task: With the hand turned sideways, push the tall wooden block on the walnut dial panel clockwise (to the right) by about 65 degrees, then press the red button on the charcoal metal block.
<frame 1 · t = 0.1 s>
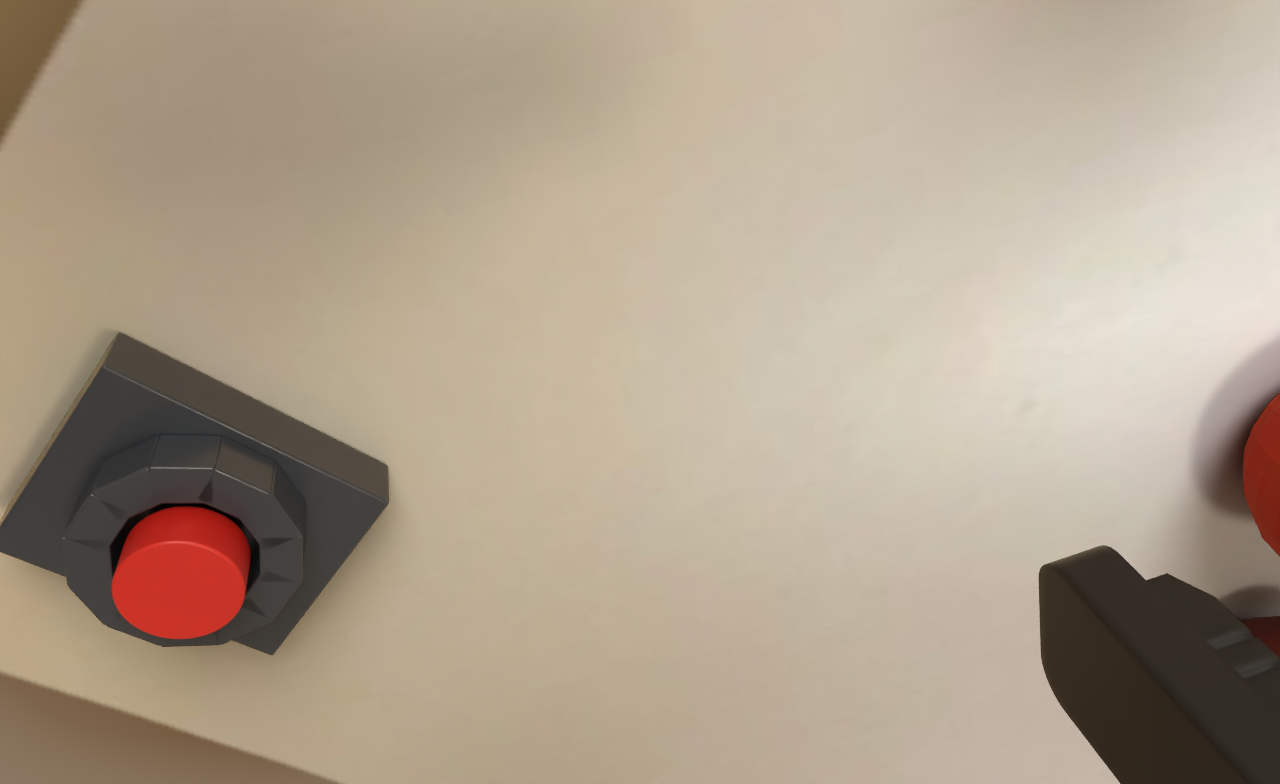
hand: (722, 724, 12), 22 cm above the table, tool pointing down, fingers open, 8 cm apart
potato: (1230, 655, 50), on the table
button block: (205, 484, 33), on the table
button: (183, 572, 29), point 5 cm above the table, slide at 0.1 cm
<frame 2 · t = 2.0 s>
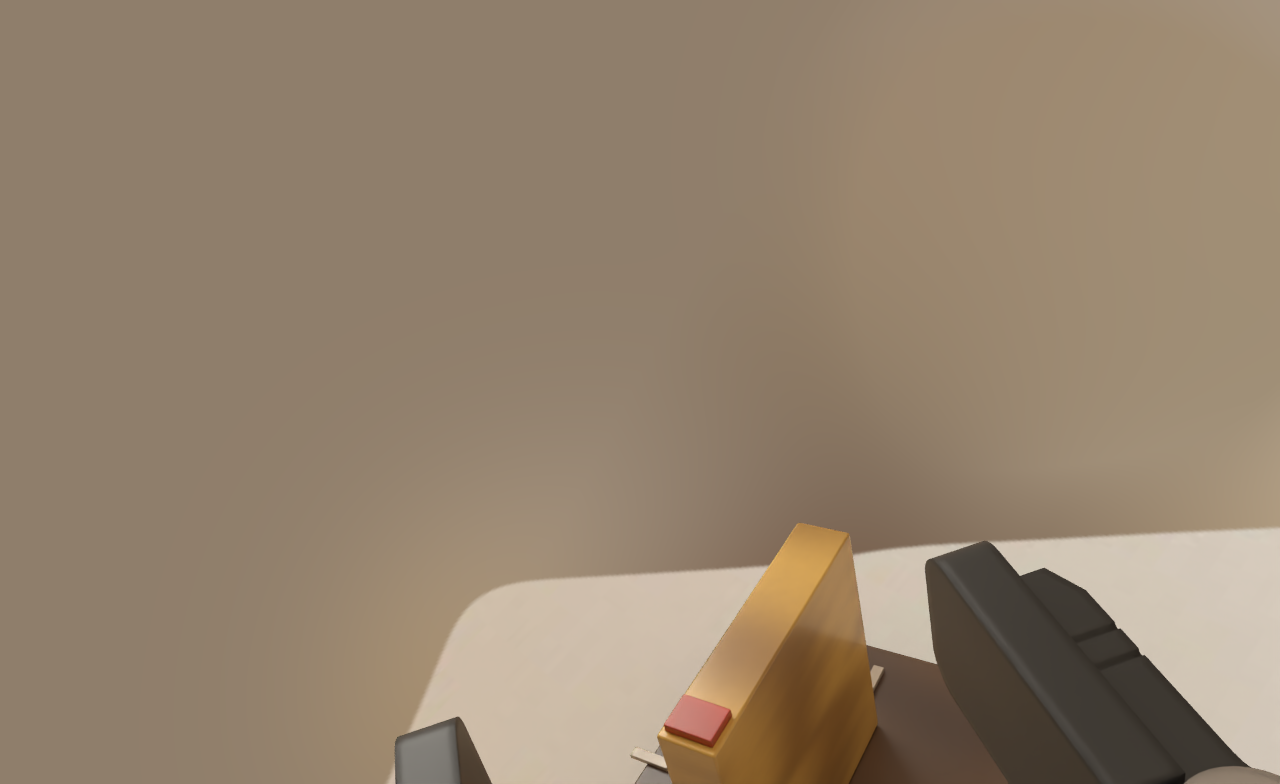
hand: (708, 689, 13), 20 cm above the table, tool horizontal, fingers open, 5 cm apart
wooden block: (783, 725, 29), point 6 cm above the table, hinge at 0.0°
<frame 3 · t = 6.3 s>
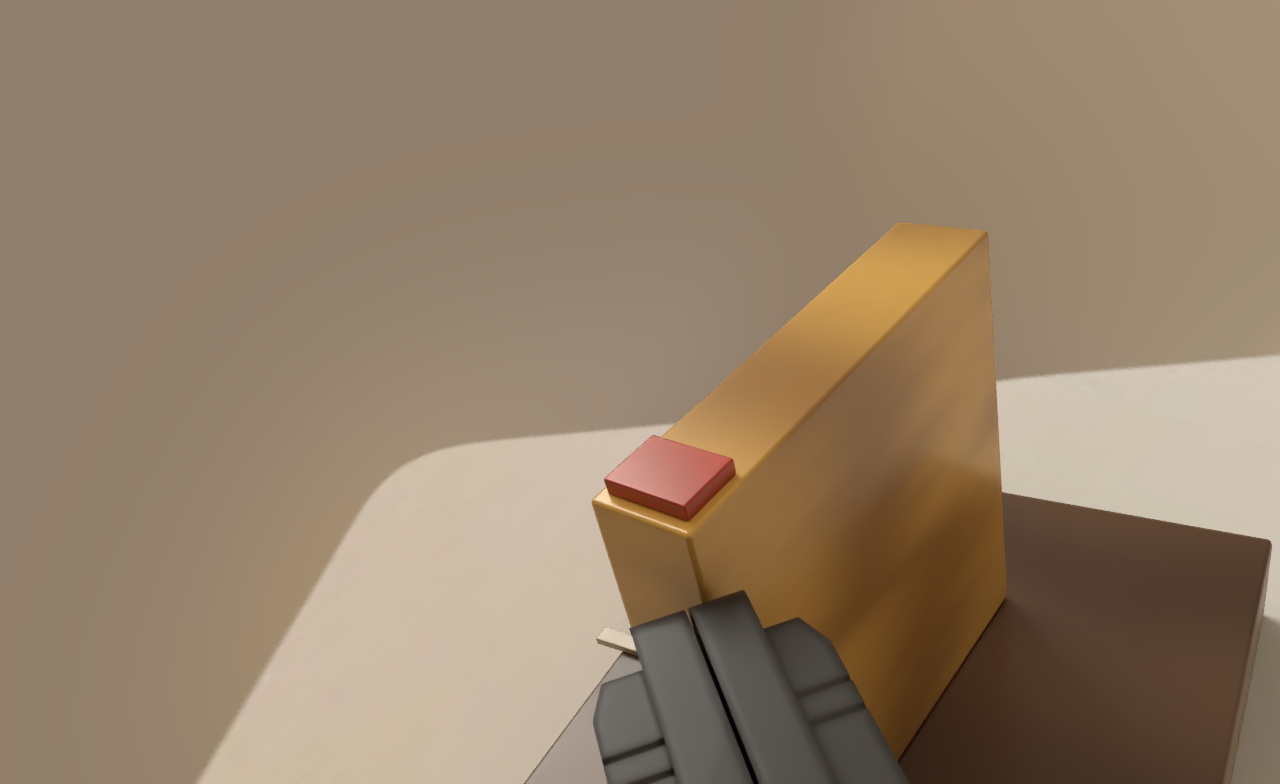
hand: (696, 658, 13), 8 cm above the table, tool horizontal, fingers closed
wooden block: (845, 552, 17), point 6 cm above the table, hinge at -7.5°, touching gripper
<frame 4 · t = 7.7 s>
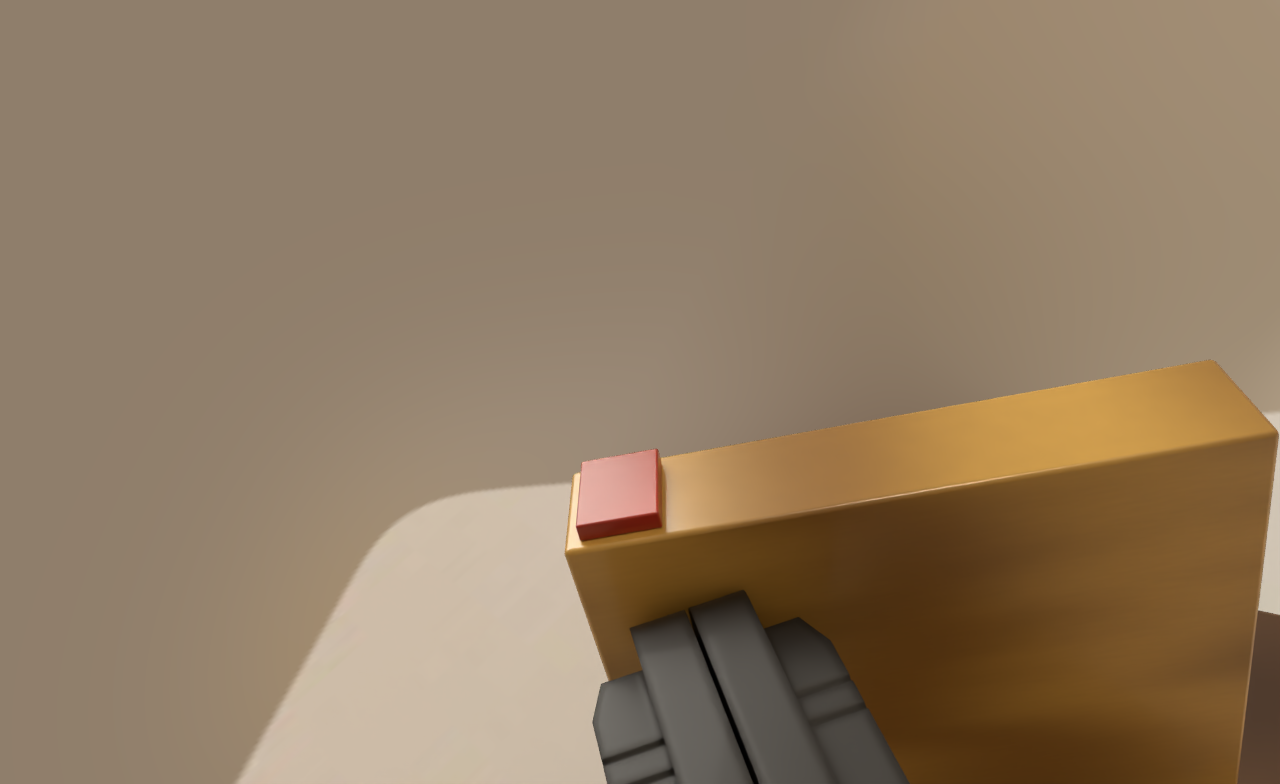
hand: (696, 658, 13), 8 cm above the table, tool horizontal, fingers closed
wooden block: (920, 677, 14), point 6 cm above the table, hinge at -58.0°, touching gripper
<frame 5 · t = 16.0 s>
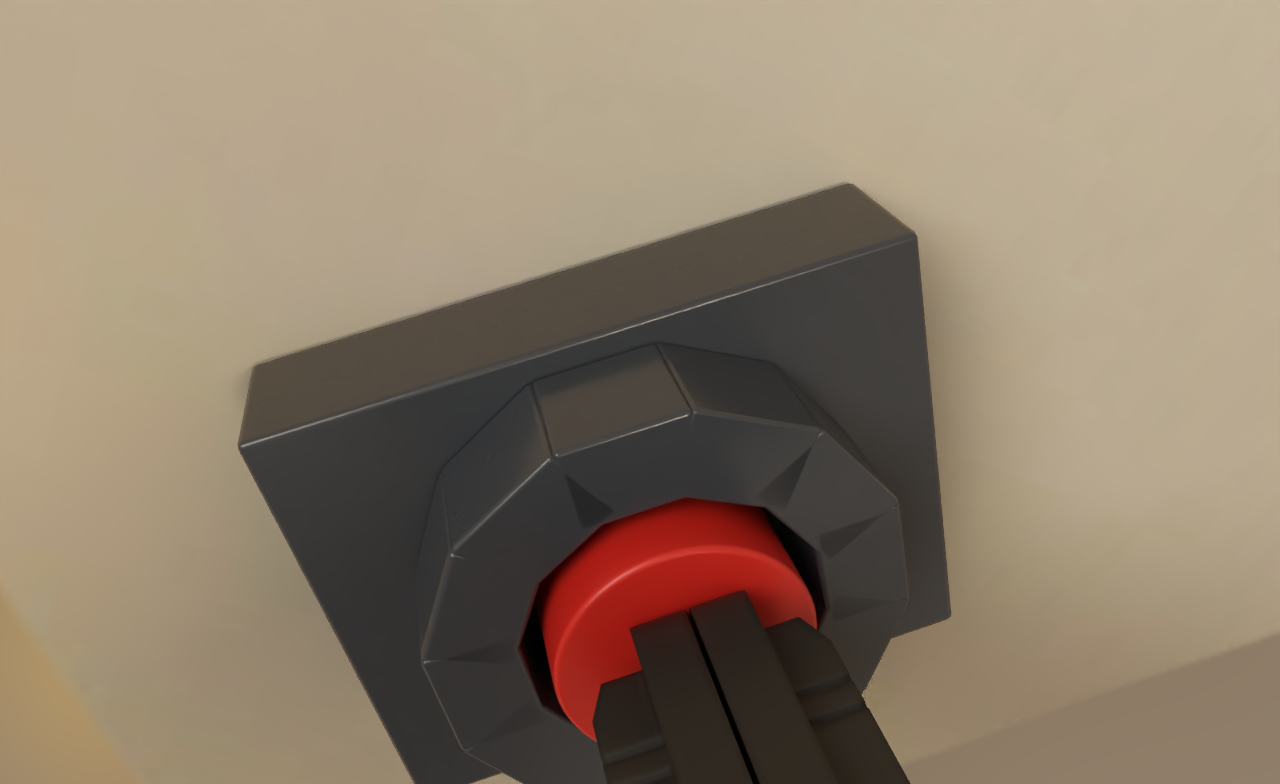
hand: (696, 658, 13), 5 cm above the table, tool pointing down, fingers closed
button block: (615, 463, 17), on the table
button: (672, 613, 14), point 4 cm above the table, slide at -0.7 cm, touching gripper
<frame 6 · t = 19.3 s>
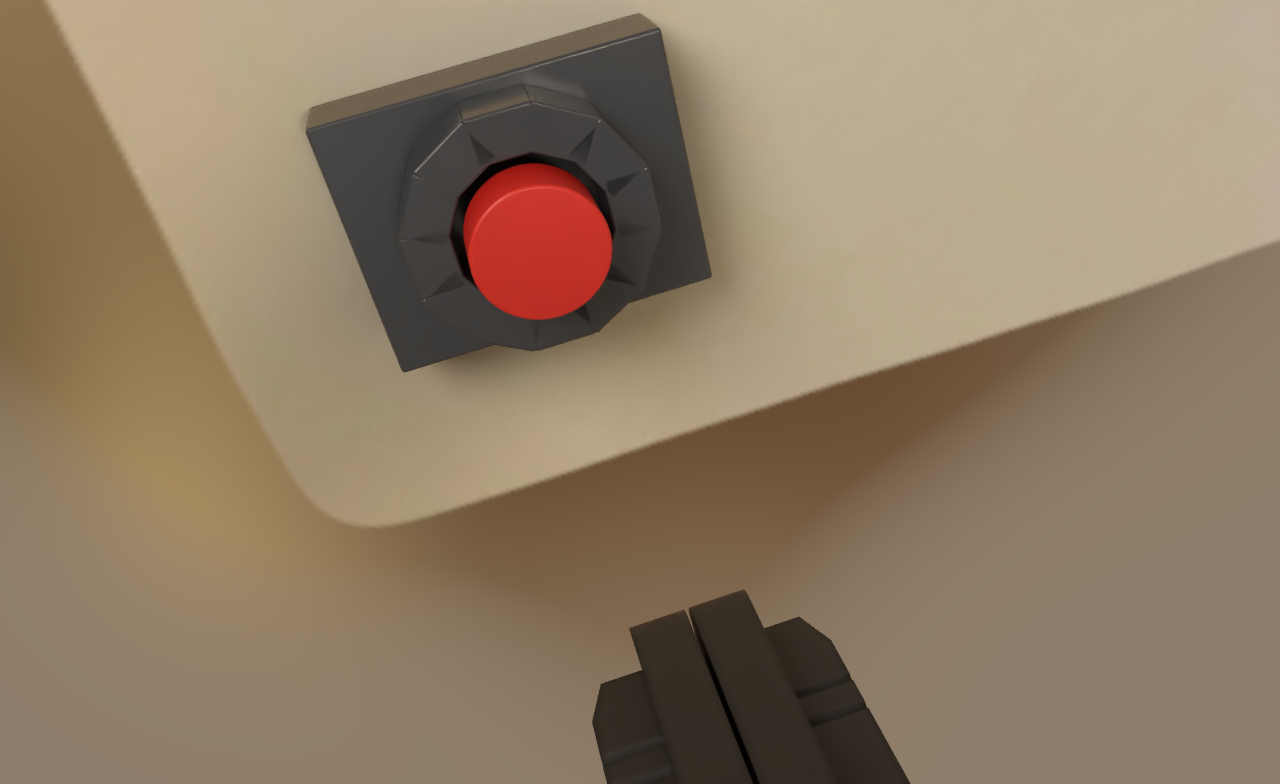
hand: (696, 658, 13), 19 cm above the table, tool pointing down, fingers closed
button block: (514, 184, 29), on the table
button: (537, 241, 25), point 5 cm above the table, slide at 0.1 cm
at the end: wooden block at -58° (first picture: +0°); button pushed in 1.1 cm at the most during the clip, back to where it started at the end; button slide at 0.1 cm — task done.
